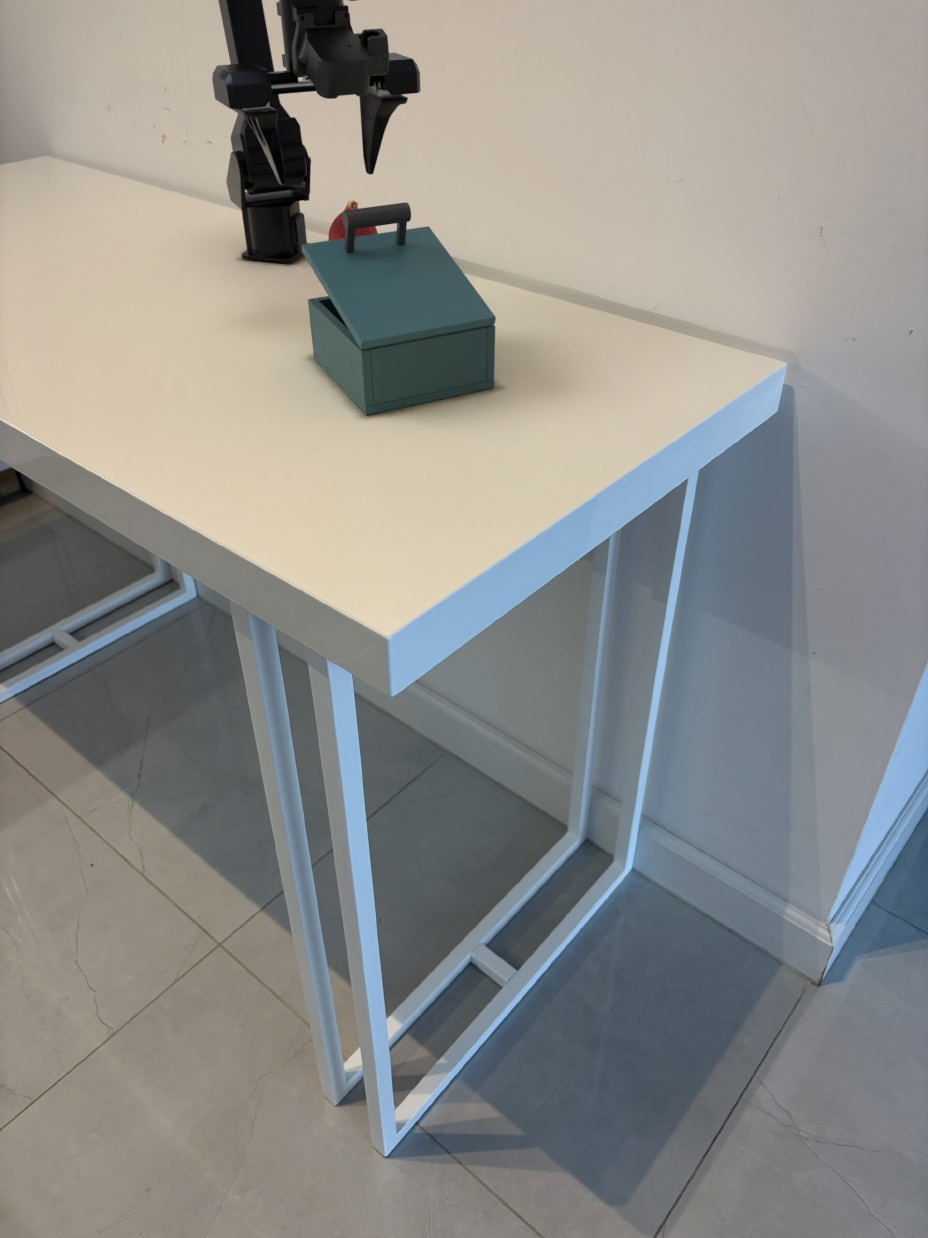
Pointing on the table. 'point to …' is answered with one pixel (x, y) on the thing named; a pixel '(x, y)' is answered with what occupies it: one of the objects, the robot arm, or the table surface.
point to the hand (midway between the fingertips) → (326, 178)
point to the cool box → (401, 363)
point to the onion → (339, 231)
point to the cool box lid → (395, 280)
